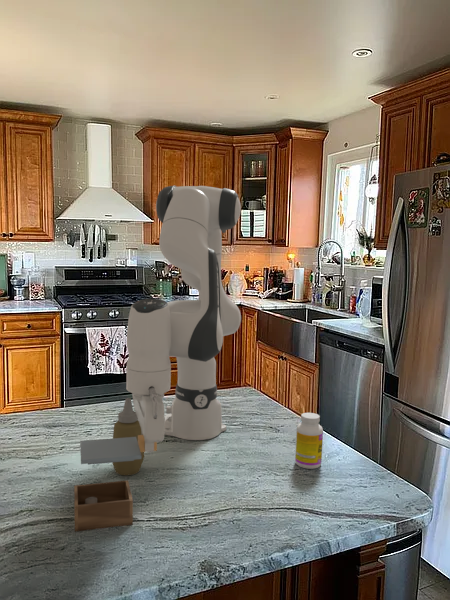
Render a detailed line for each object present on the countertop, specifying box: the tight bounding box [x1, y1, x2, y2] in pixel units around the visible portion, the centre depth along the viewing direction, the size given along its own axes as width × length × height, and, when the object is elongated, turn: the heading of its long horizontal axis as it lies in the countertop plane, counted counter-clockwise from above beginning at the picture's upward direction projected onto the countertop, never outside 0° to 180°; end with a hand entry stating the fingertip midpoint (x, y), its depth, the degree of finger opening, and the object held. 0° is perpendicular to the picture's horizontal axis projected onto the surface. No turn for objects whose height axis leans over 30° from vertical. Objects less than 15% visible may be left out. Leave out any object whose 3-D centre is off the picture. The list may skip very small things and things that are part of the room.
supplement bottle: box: [294, 412, 324, 470], centre depth 133 cm, size 7×7×13 cm
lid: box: [79, 435, 158, 465], centre depth 106 cm, size 9×15×3 cm, turn 106°
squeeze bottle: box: [112, 397, 145, 476], centre depth 126 cm, size 8×8×18 cm
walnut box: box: [73, 479, 134, 533], centre depth 106 cm, size 9×11×5 cm
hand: (147, 446), depth 108 cm, fingers closed on lid, 3 cm apart
